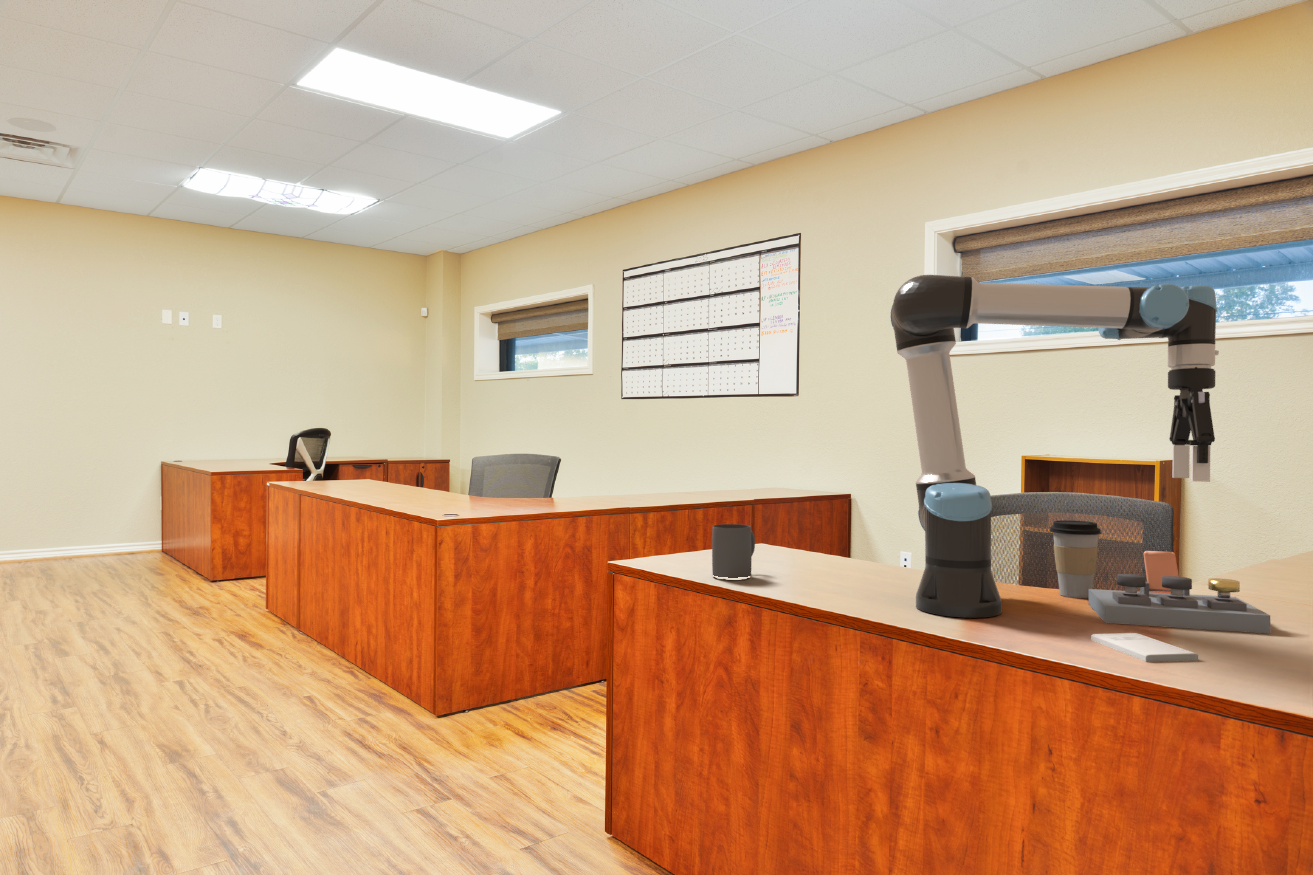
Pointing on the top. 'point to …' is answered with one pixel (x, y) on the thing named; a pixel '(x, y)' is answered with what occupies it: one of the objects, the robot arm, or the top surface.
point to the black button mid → (1176, 584)
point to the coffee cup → (1075, 556)
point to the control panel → (1178, 610)
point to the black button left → (1131, 582)
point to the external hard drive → (1144, 647)
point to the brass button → (1223, 586)
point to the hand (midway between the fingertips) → (1190, 479)
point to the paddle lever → (1159, 568)
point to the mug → (732, 550)
